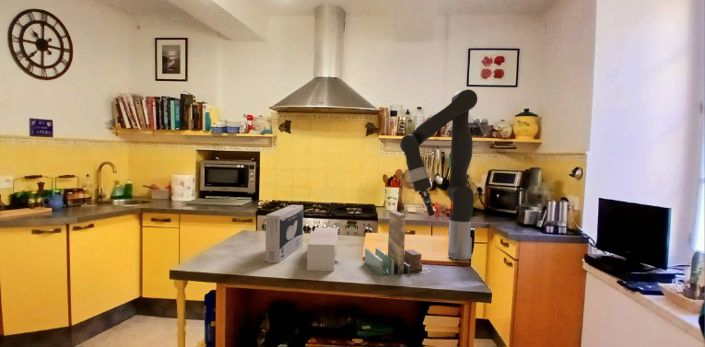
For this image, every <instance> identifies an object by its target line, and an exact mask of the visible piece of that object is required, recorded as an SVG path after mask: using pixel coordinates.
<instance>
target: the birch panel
mask: <svg viewBox="0 0 705 347" xmlns="http://www.w3.org/2000/svg"><path fill="white" fill-rule="evenodd" d="M405 233H406V214H404V213H401V212H398V211H396V210H389V212H388V238H387V239H388V240H387V255H389V256H390V257H392V258H393V259H394V262H395V263H396V264H397V265H399V266H400V272H404V254H405V242H406V240H405V239H406V238H405V237H406V234H405Z"/></svg>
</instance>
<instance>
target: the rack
mask: <svg viewBox="0 0 705 347" xmlns="http://www.w3.org/2000/svg"><path fill="white" fill-rule="evenodd" d="M363 264H364V265H365V266H366V267H367V268H368V269H369V270H370V271H371V272H372V273H374V275H375V276H377V277H388V276H401V275H412V274H413V275H414V274H415V275H416V274H424V273H433V271H432V270H431V269H428V268H427V267H425V266H424V265H422V270H410V265H408V264H407V263H405V262H404V272H400V266H399V265H397V264H396V263H395V262H394V259H393V258H392V257H390V256H389V255H388V253H386V252H384V251H383V250H382V249H380V247H375V253H374V252H373V251H372V250H370V249H369V248H368V247H367V248H366V247H365V248H364V262H363Z"/></svg>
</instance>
